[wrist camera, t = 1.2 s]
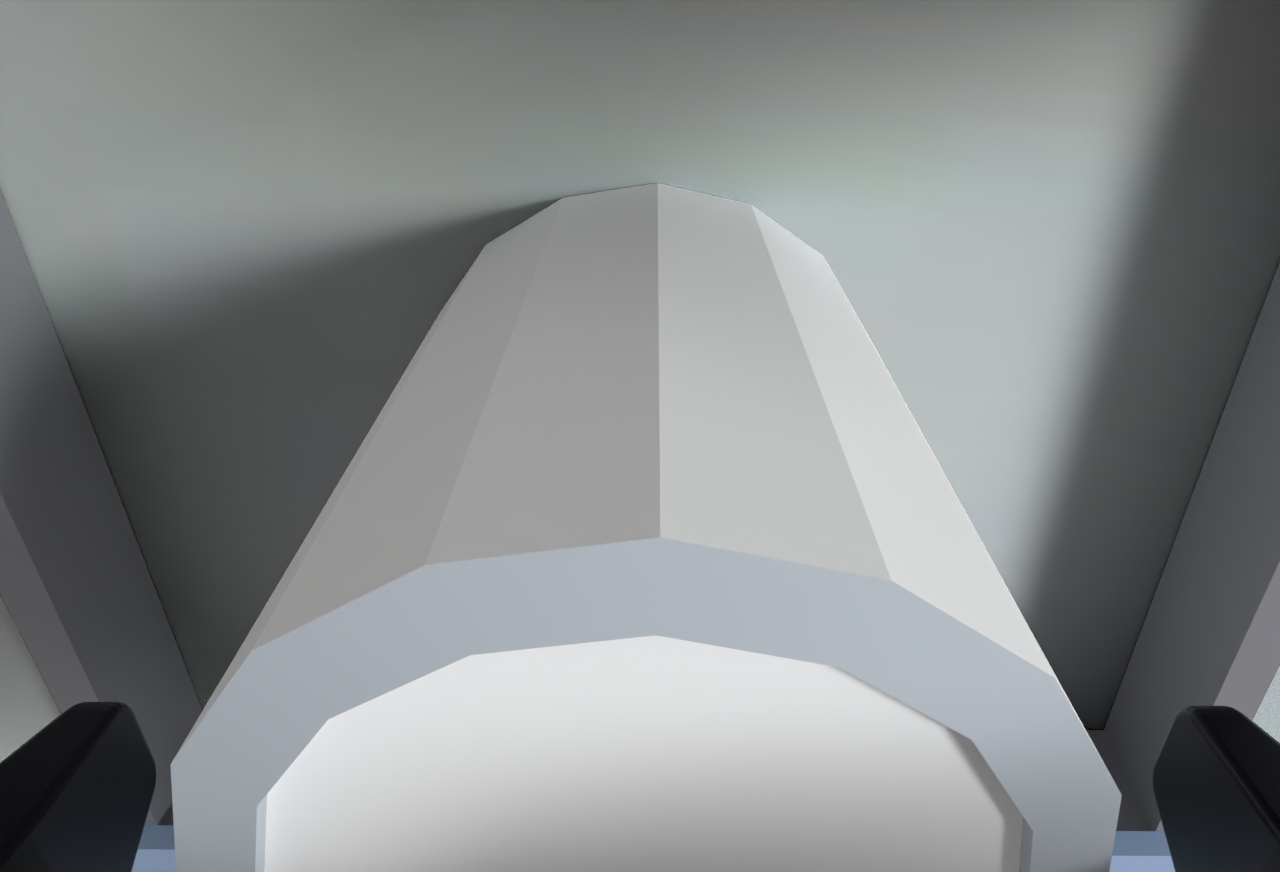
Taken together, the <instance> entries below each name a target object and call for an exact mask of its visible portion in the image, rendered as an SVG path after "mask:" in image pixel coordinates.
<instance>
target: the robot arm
mask: <svg viewBox="0 0 1280 872" xmlns="http://www.w3.org/2000/svg"><path fill="white" fill-rule="evenodd" d="M1152 784H1153V792H1154V796H1155V800H1156V804H1157V807H1158V811H1159V814H1160V818H1161V822H1162V825H1163V829H1164V833H1165V836H1166V840H1167V844H1168V847H1169V851H1170V855H1171V858H1172V862H1173V866H1174V869H1175V872H1280V743H1279V742H1278V741H1276V740H1275V739H1274V738H1273V737H1271V736H1270V735H1269V734H1268V733H1266V732H1265V731H1264V730H1263V729H1262V728H1260V727H1259V726H1258V725H1257V724H1255V723H1254V722H1253V721H1252V720H1250V719H1249V718H1248V717H1247V716H1246V715H1244V714H1243V713H1241V712H1240V711H1238V710H1236V709H1234V708H1232V707H1228V706H1185V707H1183V708H1182V709H1180V710H1179V711H1178V712H1177V713H1176V715H1175V717H1174V719H1173V721H1172V723H1171V726H1170V728H1169V730H1168V733H1167V735H1166V737H1165V740H1164V742H1163V744H1162V747H1161V749H1160V751H1159V754H1158V756H1157V758H1156V761H1155V763H1154V767H1153V773H1152ZM155 785H156V764H155V760H154V757H153V755H152V753H151V750H150V748H149V746H148V744H147V741H146V739H145V737H144V735H143V732H142V730H141V728H140V726H139V723H138V721H137V719H136V717H135V714H134V712H133V711H132V709H131V708H130V707H129V706H127V705H126V704H125V703H121V702H82V703H78V704H76V705H74V706H72V707H70V708H69V709H67V710H66V711H64V712H63V713H62V714H61V715H59V716H58V717H57V718H56V719H54V720H53V721H52V722H51V723H49V724H48V725H47V726H46V727H44V728H43V729H42V730H41V731H39V732H38V733H37V734H36V735H34V736H33V737H32V738H31V739H30V740H28V741H27V742H26V743H25V744H23V745H22V746H21V747H20V748H18V749H17V750H16V751H15V752H13V753H12V754H11V755H10V756H8V757H7V758H6V759H5V760H3V761H2V762H1V763H0V872H132V869H133V865H134V861H135V858H136V854H137V851H138V847H139V844H140V840H141V836H142V833H143V829H144V826H145V822H146V819H147V815H148V811H149V808H150V804H151V801H152V797H153V793H154V789H155Z"/></svg>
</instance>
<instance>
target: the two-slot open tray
mask: <svg viewBox="0 0 1280 872" xmlns="http://www.w3.org/2000/svg"><path fill="white" fill-rule="evenodd" d="M0 595H1V597H2V599H3V601H4V603H5V605H6V607H7V609H8V611H9V613H10V615H11V617H12V619H13V621H14V622H15V624H16V626H17V628H18V630H19V632H20V634H21V636H22V638H23V640H24V642H25V644H26V646H27V648H28V650H29V652H30V654H31V656H32V658H33V660H34V662H35V664H36V666H37V668H38V670H39V672H40V674H41V676H42V678H43V680H44V682H45V683H46V685H47V687H48V689H49V691H50V693H51V695H52V697H53V699H54V701H55V703H56V705H57V707H58V709H59V711H60V713H61V714H62V713H63V712H64V711H66V710H67V709H69V708H70V707H72V706H74V705H76V704H78V703H82V702H121V703H125V704H126V705H127V706H129V707H130V708H131V709H132V711H133V712H134V714H135V717H136V719H137V721H138V723H139V726H140V728H141V730H142V732H143V735H144V737H145V739H146V741H147V744H148V746H149V748H150V750H151V753H152V755H153V757H154V760H155V764H156V785H155V789H154V793H153V797H152V801H151V804H150V808H149V811H148V815H147V819H146V822H145V826H144V829H143V833H142V836H141V840H140V844H139V847H138V851H137V854H136V858H135V861H134V865H133V869H132V872H176V860H175V841H174V823H173V804H172V785H171V766H170V764H171V763H172V761H173V759H174V758H175V756H176V754H177V753H178V751H179V749H180V748H181V746H182V744H183V743H184V741H185V739H186V738H187V736H188V734H189V733H190V731H191V729H192V728H193V726H194V724H195V723H196V721H197V719H198V717H199V716H200V714H201V712H202V711H203V710H202V708H201V705H200V703H199V700H198V697H197V695H196V692H195V690H194V687H193V685H192V682H191V679H190V677H189V674H188V672H187V669H186V667H185V664H184V661H183V659H182V656H181V654H180V651H179V648H178V646H177V643H176V641H175V638H174V636H173V633H172V630H171V628H170V625H169V623H168V620H167V618H166V615H165V612H164V610H163V607H162V605H161V602H160V599H159V597H158V594H157V592H156V589H155V587H154V584H153V581H152V579H151V576H150V574H149V571H148V569H147V566H146V563H145V561H144V558H143V556H142V553H141V550H140V548H139V545H138V543H137V540H136V538H135V535H134V532H133V530H132V527H131V525H130V522H129V520H128V517H127V514H126V512H125V509H124V507H123V504H122V501H121V499H120V496H119V494H118V491H117V489H116V486H115V483H114V481H113V478H112V476H111V473H110V471H109V468H108V465H107V463H106V460H105V458H104V455H103V452H102V450H101V447H100V445H99V442H98V440H97V437H96V434H95V432H94V429H93V427H92V424H91V421H90V419H89V416H88V414H87V411H86V409H85V406H84V403H83V401H82V398H81V396H80V393H79V391H78V388H77V385H76V383H75V380H74V378H73V375H72V372H71V370H70V367H69V365H68V362H67V360H66V357H65V354H64V352H63V349H62V347H61V344H60V342H59V339H58V336H57V334H56V331H55V329H54V326H53V323H52V321H51V318H50V316H49V313H48V311H47V308H46V305H45V303H44V300H43V298H42V295H41V293H40V290H39V287H38V285H37V282H36V280H35V277H34V274H33V272H32V269H31V267H30V264H29V262H28V259H27V256H26V254H25V251H24V249H23V246H22V244H21V241H20V238H19V236H18V233H17V231H16V228H15V225H14V223H13V220H12V218H11V215H10V213H9V210H8V207H7V205H6V202H5V200H4V197H3V195H2V192H1V189H0ZM1279 666H1280V262H1279V265H1278V267H1277V270H1276V273H1275V275H1274V278H1273V281H1272V283H1271V286H1270V289H1269V291H1268V294H1267V297H1266V299H1265V302H1264V305H1263V307H1262V310H1261V313H1260V315H1259V318H1258V321H1257V323H1256V326H1255V329H1254V331H1253V334H1252V337H1251V339H1250V342H1249V345H1248V347H1247V350H1246V353H1245V355H1244V358H1243V361H1242V363H1241V366H1240V369H1239V371H1238V374H1237V377H1236V379H1235V382H1234V385H1233V387H1232V390H1231V393H1230V395H1229V398H1228V401H1227V403H1226V406H1225V409H1224V411H1223V414H1222V417H1221V419H1220V422H1219V424H1218V427H1217V430H1216V432H1215V435H1214V438H1213V440H1212V443H1211V446H1210V448H1209V451H1208V454H1207V456H1206V459H1205V462H1204V464H1203V467H1202V470H1201V472H1200V475H1199V478H1198V480H1197V483H1196V486H1195V488H1194V491H1193V494H1192V496H1191V499H1190V502H1189V504H1188V507H1187V510H1186V512H1185V515H1184V518H1183V520H1182V523H1181V526H1180V528H1179V531H1178V534H1177V536H1176V539H1175V542H1174V544H1173V547H1172V550H1171V552H1170V555H1169V558H1168V560H1167V563H1166V566H1165V568H1164V571H1163V574H1162V576H1161V579H1160V581H1159V584H1158V587H1157V589H1156V592H1155V595H1154V597H1153V600H1152V603H1151V605H1150V608H1149V611H1148V613H1147V616H1146V619H1145V621H1144V624H1143V627H1142V629H1141V632H1140V635H1139V637H1138V640H1137V643H1136V645H1135V648H1134V651H1133V653H1132V656H1131V659H1130V661H1129V664H1128V667H1127V669H1126V672H1125V675H1124V677H1123V680H1122V683H1121V685H1120V688H1119V691H1118V693H1117V696H1116V699H1115V701H1114V704H1113V707H1112V709H1111V712H1110V715H1109V717H1108V720H1107V723H1106V725H1105V728H1104V730H1086V731H1087V733H1088V735H1089V737H1090V738H1091V740H1092V742H1093V744H1094V746H1095V748H1096V749H1097V751H1098V753H1099V755H1100V757H1101V758H1102V760H1103V762H1104V764H1105V766H1106V767H1107V769H1108V771H1109V773H1110V775H1111V777H1112V778H1113V780H1114V782H1115V784H1116V786H1117V787H1118V789H1119V791H1120V793H1121V795H1122V797H1121V803H1120V809H1119V815H1118V822H1117V828H1116V834H1115V840H1114V846H1113V852H1112V859H1111V865H1110V871H1109V872H1175V869H1174V866H1173V862H1172V858H1171V855H1170V851H1169V847H1168V844H1167V840H1166V836H1165V833H1164V829H1163V825H1162V822H1161V818H1160V814H1159V811H1158V807H1157V804H1156V800H1155V796H1154V792H1153V784H1152V773H1153V767H1154V763H1155V761H1156V758H1157V756H1158V754H1159V751H1160V749H1161V747H1162V744H1163V742H1164V740H1165V737H1166V735H1167V733H1168V730H1169V728H1170V726H1171V723H1172V721H1173V719H1174V717H1175V715H1176V713H1177V712H1178V711H1179V710H1180V709H1182V708H1183V707H1185V706H1228V707H1232V708H1234V709H1236V710H1238V711H1240V712H1241V713H1243V714H1244V715H1246V716H1247V717H1248V718H1249V719H1250V720H1253V718H1254V716H1255V714H1256V712H1257V710H1258V708H1259V706H1260V704H1261V702H1262V700H1263V698H1264V696H1265V694H1266V692H1267V690H1268V688H1269V686H1270V684H1271V682H1272V680H1273V678H1274V676H1275V674H1276V672H1277V670H1278V668H1279Z"/></svg>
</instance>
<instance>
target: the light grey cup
mask: <svg viewBox="0 0 1280 872" xmlns="http://www.w3.org/2000/svg"><path fill="white" fill-rule="evenodd" d="M170 766H171V785H172V804H173V823H174V841H175V860H176V872H1109V871H1110V865H1111V859H1112V852H1113V846H1114V840H1115V834H1116V828H1117V822H1118V815H1119V809H1120V803H1121V797H1122V795H1121V793H1120V791H1119V789H1118V787H1117V786H1116V784H1115V782H1114V780H1113V778H1112V777H1111V775H1110V773H1109V771H1108V769H1107V767H1106V766H1105V764H1104V762H1103V760H1102V758H1101V757H1100V755H1099V753H1098V751H1097V749H1096V748H1095V746H1094V744H1093V742H1092V740H1091V738H1090V737H1089V735H1088V733H1087V731H1086V729H1085V728H1084V726H1083V724H1082V722H1081V720H1080V718H1079V717H1078V715H1077V713H1076V711H1075V709H1074V708H1073V706H1072V704H1071V702H1070V700H1069V699H1068V697H1067V695H1066V693H1065V691H1064V689H1063V688H1062V686H1061V684H1060V682H1059V680H1058V679H1057V677H1056V675H1055V673H1054V671H1053V670H1052V668H1051V666H1050V664H1049V662H1048V660H1047V659H1046V657H1045V655H1044V653H1043V651H1042V650H1041V648H1040V646H1039V644H1038V642H1037V640H1036V639H1035V637H1034V635H1033V633H1032V631H1031V630H1030V628H1029V626H1028V624H1027V622H1026V621H1025V619H1024V617H1023V615H1022V613H1021V611H1020V610H1019V608H1018V606H1017V604H1016V602H1015V601H1014V599H1013V597H1012V595H1011V593H1010V592H1009V590H1008V588H1007V586H1006V584H1005V582H1004V581H1003V579H1002V577H1001V575H1000V573H999V572H998V570H997V568H996V566H995V564H994V562H993V561H992V559H991V557H990V555H989V553H988V552H987V550H986V548H985V546H984V544H983V543H982V541H981V539H980V537H979V535H978V533H977V532H976V530H975V528H974V526H973V524H972V523H971V521H970V519H969V517H968V515H967V514H966V512H965V510H964V508H963V506H962V504H961V503H960V501H959V499H958V497H957V495H956V494H955V492H954V490H953V488H952V486H951V484H950V483H949V481H948V479H947V477H946V475H945V474H944V472H943V470H942V468H941V466H940V465H939V463H938V461H937V459H936V457H935V455H934V454H933V452H932V450H931V448H930V446H929V445H928V443H927V441H926V439H925V437H924V436H923V434H922V432H921V430H920V428H919V426H918V425H917V423H916V421H915V419H914V417H913V416H912V414H911V412H910V410H909V408H908V406H907V405H906V403H905V401H904V399H903V397H902V396H901V394H900V392H899V390H898V388H897V387H896V385H895V383H894V381H893V379H892V377H891V376H890V374H889V372H888V370H887V368H886V367H885V365H884V363H883V361H882V359H881V357H880V356H879V354H878V352H877V350H876V348H875V347H874V345H873V343H872V341H871V339H870V338H869V336H868V334H867V332H866V330H865V328H864V327H863V325H862V323H861V321H860V320H859V318H858V316H857V314H856V313H855V311H854V309H853V307H852V305H851V304H850V302H849V300H848V298H847V297H846V295H845V293H844V291H843V290H842V288H841V286H840V284H839V283H838V281H837V279H836V277H835V275H834V274H833V272H832V270H831V268H830V267H829V265H828V263H827V261H826V260H825V258H824V256H823V255H821V254H820V253H819V252H817V251H816V250H814V249H813V248H812V247H810V246H809V245H807V244H806V243H805V242H803V241H802V240H800V239H799V238H798V237H796V236H795V235H793V234H792V233H791V232H789V231H788V230H786V229H785V228H784V227H782V226H781V225H779V224H778V223H777V222H775V221H774V220H772V219H771V218H770V217H768V216H767V215H765V214H764V213H763V212H761V211H760V210H758V209H757V208H756V207H754V206H753V205H751V204H748V203H744V202H739V201H735V200H731V199H726V198H722V197H717V196H713V195H709V194H704V193H700V192H695V191H691V190H687V189H682V188H678V187H673V186H669V185H665V184H660V183H654V184H647V185H641V186H634V187H628V188H621V189H615V190H609V191H602V192H596V193H589V194H583V195H576V196H570V197H563V198H561V199H560V200H558V201H556V202H555V203H553V204H551V205H550V206H548V207H546V208H545V209H543V210H542V211H540V212H538V213H537V214H535V215H533V216H532V217H530V218H528V219H527V220H525V221H523V222H522V223H520V224H519V225H517V226H515V227H514V228H512V229H510V230H509V231H507V232H505V233H504V234H502V235H500V236H499V237H497V238H495V239H494V240H492V241H491V242H489V243H487V244H486V245H485V246H484V248H483V249H482V251H481V252H480V254H479V255H478V257H477V258H476V260H475V261H474V263H473V264H472V266H471V267H470V269H469V270H468V272H467V273H466V274H465V276H464V277H463V279H462V280H461V282H460V283H459V285H458V286H457V288H456V289H455V291H454V292H453V294H452V295H451V297H450V298H449V300H448V301H447V303H446V304H445V305H444V307H443V308H442V310H441V311H440V313H439V315H438V316H437V318H436V320H435V321H434V323H433V325H432V326H431V328H430V330H429V331H428V333H427V335H426V337H425V338H424V340H423V342H422V343H421V345H420V347H419V348H418V350H417V352H416V353H415V355H414V357H413V358H412V360H411V362H410V363H409V365H408V367H407V368H406V370H405V372H404V373H403V375H402V377H401V378H400V380H399V382H398V384H397V385H396V387H395V389H394V390H393V392H392V394H391V395H390V397H389V399H388V400H387V402H386V404H385V405H384V407H383V409H382V410H381V412H380V414H379V415H378V417H377V419H376V420H375V422H374V424H373V425H372V427H371V429H370V431H369V432H368V434H367V436H366V437H365V439H364V441H363V442H362V444H361V446H360V447H359V449H358V451H357V452H356V454H355V456H354V457H353V459H352V461H351V462H350V464H349V466H348V467H347V469H346V471H345V472H344V474H343V476H342V477H341V479H340V481H339V483H338V484H337V486H336V488H335V489H334V491H333V493H332V494H331V496H330V498H329V499H328V501H327V503H326V504H325V506H324V508H323V509H322V511H321V513H320V514H319V516H318V518H317V519H316V521H315V523H314V524H313V526H312V528H311V530H310V531H309V533H308V535H307V536H306V538H305V540H304V541H303V543H302V545H301V546H300V548H299V550H298V551H297V553H296V555H295V556H294V558H293V560H292V561H291V563H290V565H289V566H288V568H287V570H286V571H285V573H284V575H283V577H282V578H281V580H280V582H279V583H278V585H277V587H276V588H275V590H274V592H273V593H272V595H271V597H270V598H269V600H268V602H267V603H266V605H265V607H264V608H263V610H262V612H261V613H260V615H259V617H258V618H257V620H256V622H255V623H254V625H253V627H252V629H251V630H250V632H249V634H248V635H247V637H246V639H245V640H244V642H243V644H242V645H241V647H240V649H239V650H238V652H237V654H236V655H235V657H234V659H233V660H232V662H231V664H230V665H229V667H228V669H227V670H226V672H225V674H224V676H223V677H222V679H221V681H220V682H219V684H218V686H217V687H216V689H215V691H214V692H213V694H212V696H211V697H210V699H209V701H208V702H207V704H206V706H205V707H204V709H203V711H202V712H201V714H200V716H199V717H198V719H197V721H196V723H195V724H194V726H193V728H192V729H191V731H190V733H189V734H188V736H187V738H186V739H185V741H184V743H183V744H182V746H181V748H180V749H179V751H178V753H177V754H176V756H175V758H174V759H173V761H172V763H171V764H170Z"/></svg>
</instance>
